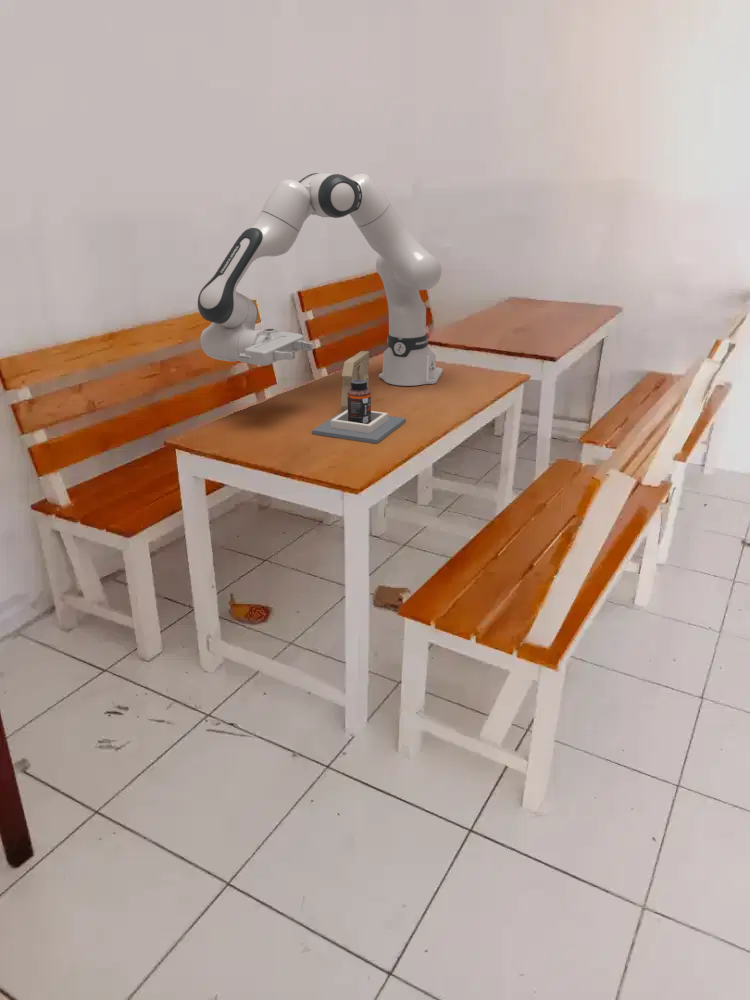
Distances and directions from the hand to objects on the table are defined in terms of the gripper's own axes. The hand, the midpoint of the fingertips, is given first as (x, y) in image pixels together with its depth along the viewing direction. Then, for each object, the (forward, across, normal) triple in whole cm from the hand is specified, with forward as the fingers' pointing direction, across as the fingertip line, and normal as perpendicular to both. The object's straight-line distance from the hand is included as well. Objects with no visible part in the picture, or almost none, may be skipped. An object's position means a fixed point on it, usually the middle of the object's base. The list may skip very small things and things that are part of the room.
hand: (302, 351), depth 201 cm
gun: (+6, +17, +19) cm, 26 cm away
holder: (+16, 0, +18) cm, 24 cm away
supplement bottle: (+16, 0, +18) cm, 24 cm away
